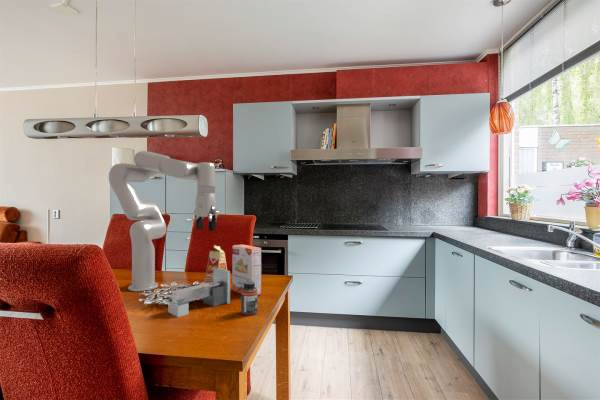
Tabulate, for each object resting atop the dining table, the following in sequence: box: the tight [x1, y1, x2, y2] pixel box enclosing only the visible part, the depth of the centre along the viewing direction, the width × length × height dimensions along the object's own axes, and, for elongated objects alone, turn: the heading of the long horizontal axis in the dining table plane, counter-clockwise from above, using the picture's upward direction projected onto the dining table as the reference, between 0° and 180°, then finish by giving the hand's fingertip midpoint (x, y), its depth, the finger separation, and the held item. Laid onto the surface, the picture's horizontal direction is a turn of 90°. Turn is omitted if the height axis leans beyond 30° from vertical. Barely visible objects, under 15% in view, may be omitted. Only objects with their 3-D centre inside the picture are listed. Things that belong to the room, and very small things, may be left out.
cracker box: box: [231, 243, 262, 296], centre depth 140 cm, size 14×6×21 cm, turn 47°
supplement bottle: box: [240, 281, 259, 316], centre depth 115 cm, size 6×6×11 cm
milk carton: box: [203, 244, 228, 284], centre depth 151 cm, size 9×9×20 cm
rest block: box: [167, 297, 190, 318], centre depth 114 cm, size 7×4×5 cm, turn 49°
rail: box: [171, 282, 220, 304], centre depth 120 cm, size 4×18×4 cm, turn 139°
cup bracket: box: [202, 267, 231, 308], centre depth 126 cm, size 10×7×13 cm
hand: (205, 229), depth 138 cm, fingers open, 9 cm apart
